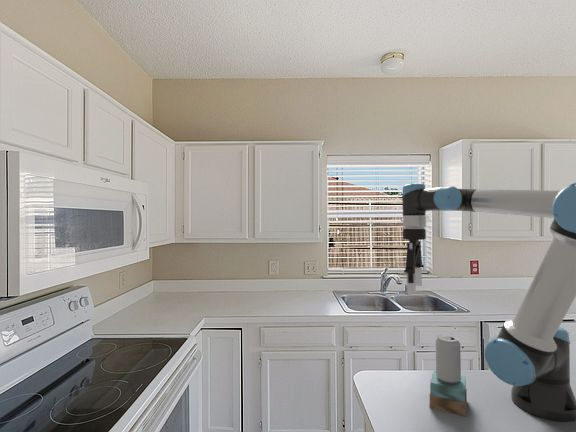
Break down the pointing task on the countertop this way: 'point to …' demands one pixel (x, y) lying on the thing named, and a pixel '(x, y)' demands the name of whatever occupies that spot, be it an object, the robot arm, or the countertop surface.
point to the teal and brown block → (448, 395)
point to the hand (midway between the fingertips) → (414, 289)
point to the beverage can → (448, 359)
